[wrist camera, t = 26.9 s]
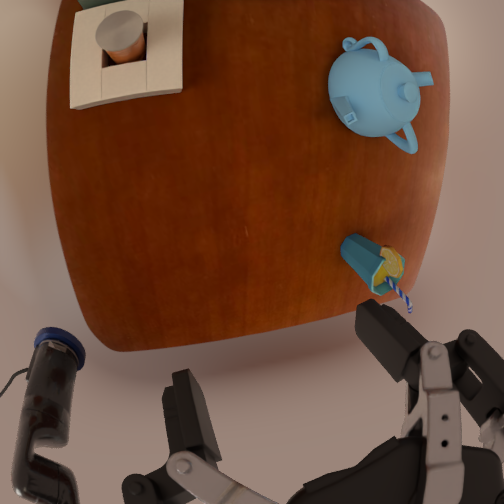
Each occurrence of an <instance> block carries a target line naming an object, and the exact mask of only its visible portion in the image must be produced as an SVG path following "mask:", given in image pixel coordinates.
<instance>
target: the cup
mask: <svg viewBox="0 0 504 504" xmlns="http://www.w3.org/2000/svg"><path fill="white" fill-rule="evenodd" d="M341 256H342V257H343V259H344V260H345V261H346V262H347V263H348V264H349V265H350V266H351V267H352V268H353V269H354V270H355V271H356V272H357V273H358V275H359V276H360V277H361V278H362V279H363V280H364V281H365V282H366V283H367V284H368V288H369V289H370V290H371V292H374V293H376V294H378V295H380V296H381V295H383V294H385V293H387V292H388V291H390V290H392V289H394V290H395V291H396V292H397V293H398V294H399V296H400V297H401V298H402V299H403V300H404V301H405V302H406V303H407V306H408V312H409V313H412V302H411V301H410V300H409V298H408V297H407V296H406V295H405V294H404V293H403V292H402V291H401V290H400V289H399V288H398V286H397V283H398V282H399V280H400V279H401V277H402V275H403V273H404V263H405V259H404V258H403V257H402V256H401V255H399V254H398V253H397V252H396V251H395V249H394V248H393V247H392V246H387V245H384V246H380V245H378V244H376V243H374V242H372V241H370V240H368V239H366V238H364V237H362V236H360V235H358V234H356V233H355V234H352V235H350V236H347V237H346V239H345V240H344V242H343V243H342V245H341Z"/></svg>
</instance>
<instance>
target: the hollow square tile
mask: <svg viewBox="0 0 504 504" xmlns="http://www.w3.org/2000/svg"><path fill="white" fill-rule="evenodd" d="M183 6H184V0H125V1H120V2H115V3H110V4H107V5H102V6H98V7H94V8H90V9H86V10H83V11H79V12H76V14H75V21H74V29H73V37H72V48H71V64H70V108H73V109H79V110H81V109H85V108H89V107H93V106H98V105H102V104H107V103H112V102H117V101H122V100H128V99H134V98H140V97H147V96H154V95H162V94H171V93H180V92H181V90H182V34H183ZM123 10H129V11H133V12H136V13H137V14H139V15H140V16H141V18H142V20H143V33H147V61H146V60H145V61H138V62H132V63H126V64H120V65H115V66H110V67H108V62H109V55H108V53H107V52H106V51H105V50H103V49H102V48H100V47H99V46H98V44H97V43H96V39H95V33H96V30H97V28H98V26H99V24H100V23H101V22H102V21H103V20H104V19H105V18H106V17H107V16H109V15H110V14H112V13H115V12H118V11H123Z"/></svg>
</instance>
